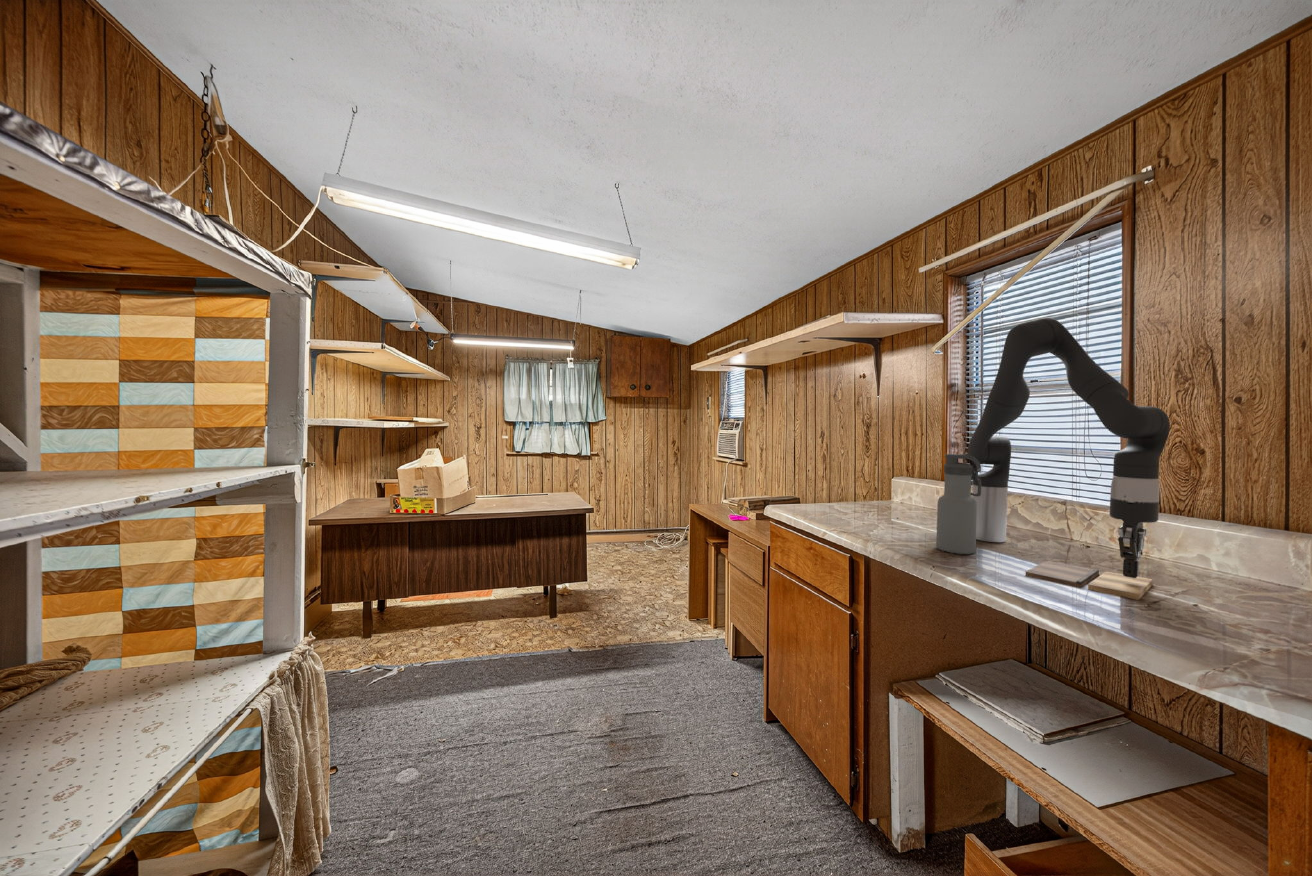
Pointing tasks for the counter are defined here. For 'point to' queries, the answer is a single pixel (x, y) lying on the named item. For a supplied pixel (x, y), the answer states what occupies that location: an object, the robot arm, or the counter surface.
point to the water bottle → (958, 506)
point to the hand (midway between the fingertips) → (1130, 576)
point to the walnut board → (1063, 573)
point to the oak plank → (1121, 585)
